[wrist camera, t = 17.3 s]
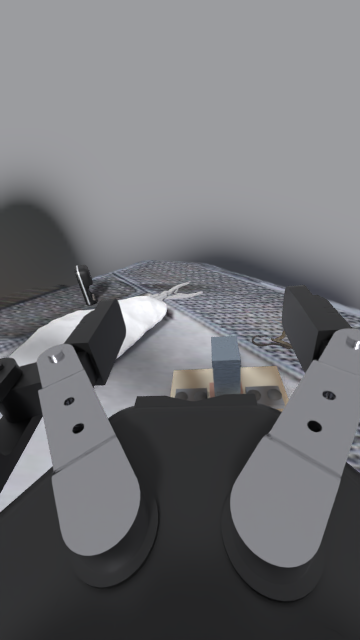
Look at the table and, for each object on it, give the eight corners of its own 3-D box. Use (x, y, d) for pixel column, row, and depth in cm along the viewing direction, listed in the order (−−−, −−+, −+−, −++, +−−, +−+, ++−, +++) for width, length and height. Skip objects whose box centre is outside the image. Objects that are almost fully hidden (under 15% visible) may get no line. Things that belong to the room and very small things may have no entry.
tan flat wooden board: (165, 449, 35) (162, 438, 33) (174, 376, 46) (173, 366, 45) (302, 449, 32) (305, 438, 31) (275, 372, 44) (276, 361, 43)
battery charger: (99, 303, 77) (87, 268, 71) (87, 306, 76) (74, 271, 70) (97, 295, 83) (86, 262, 77) (85, 298, 82) (73, 265, 76)
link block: (216, 412, 37) (212, 360, 31) (215, 386, 41) (211, 337, 36) (240, 412, 36) (240, 359, 31) (236, 386, 40) (236, 335, 35)
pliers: (202, 289, 74) (155, 304, 69) (203, 294, 74) (156, 309, 70) (188, 279, 82) (144, 292, 77) (188, 283, 82) (145, 297, 78)
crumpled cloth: (11, 347, 60) (-9, 318, 54) (142, 296, 74) (137, 268, 68) (26, 425, 44) (0, 395, 38) (188, 341, 58) (187, 310, 52)
